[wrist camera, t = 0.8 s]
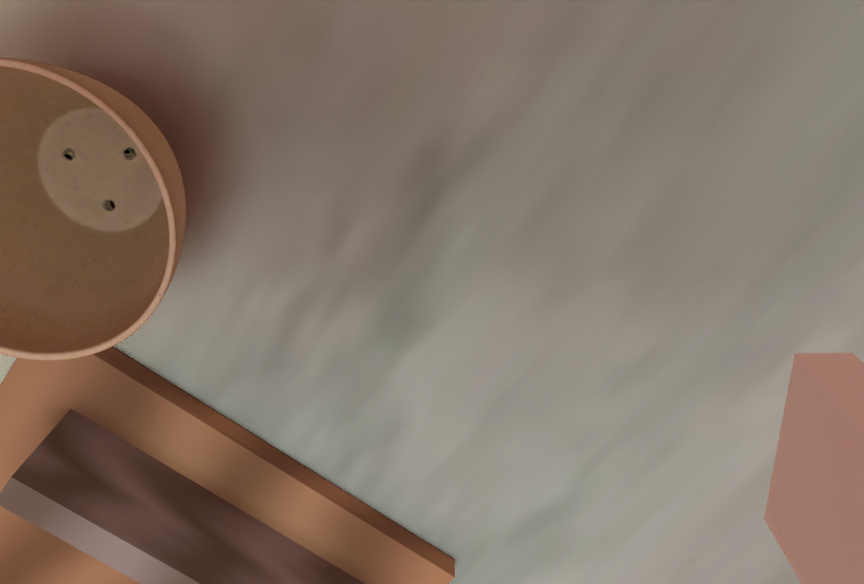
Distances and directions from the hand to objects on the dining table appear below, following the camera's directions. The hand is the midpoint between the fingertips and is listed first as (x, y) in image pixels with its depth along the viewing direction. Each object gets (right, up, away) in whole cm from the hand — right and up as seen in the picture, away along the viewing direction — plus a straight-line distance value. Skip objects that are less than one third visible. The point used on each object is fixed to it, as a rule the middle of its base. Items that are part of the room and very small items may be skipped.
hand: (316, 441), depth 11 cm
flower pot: (-11, +7, +20) cm, 24 cm away
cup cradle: (-13, -13, +28) cm, 34 cm away
